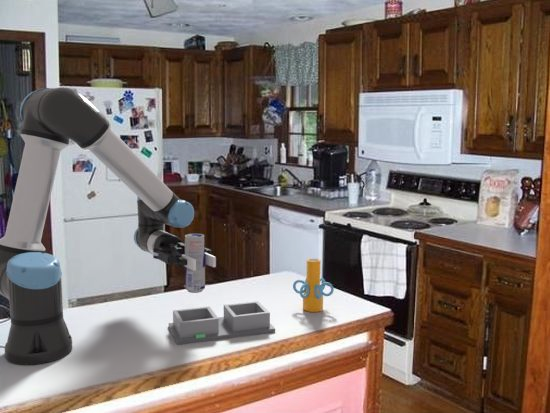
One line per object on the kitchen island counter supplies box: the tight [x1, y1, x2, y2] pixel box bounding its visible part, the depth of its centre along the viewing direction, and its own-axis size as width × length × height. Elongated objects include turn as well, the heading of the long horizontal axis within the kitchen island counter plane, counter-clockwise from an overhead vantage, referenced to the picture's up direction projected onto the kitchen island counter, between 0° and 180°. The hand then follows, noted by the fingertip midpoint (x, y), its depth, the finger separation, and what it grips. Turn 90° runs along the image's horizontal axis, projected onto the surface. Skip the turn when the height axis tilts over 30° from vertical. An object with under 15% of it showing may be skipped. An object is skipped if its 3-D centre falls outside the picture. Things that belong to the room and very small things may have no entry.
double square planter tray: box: [168, 300, 276, 346], centre depth 155 cm, size 26×13×5 cm, turn 110°
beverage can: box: [184, 233, 206, 294], centre depth 151 cm, size 5×5×15 cm
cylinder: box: [292, 257, 335, 313], centre depth 171 cm, size 12×10×15 cm
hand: (204, 263), depth 146 cm, fingers closed on beverage can, 5 cm apart
